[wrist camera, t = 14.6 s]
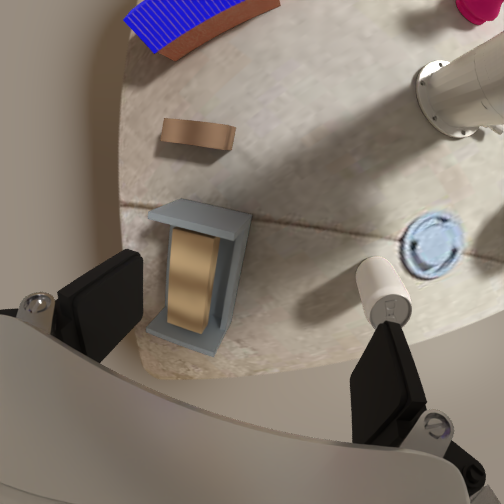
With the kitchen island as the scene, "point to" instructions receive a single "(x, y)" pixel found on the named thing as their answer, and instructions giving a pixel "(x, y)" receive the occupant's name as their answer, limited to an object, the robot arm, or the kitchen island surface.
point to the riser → (198, 133)
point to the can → (382, 292)
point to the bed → (226, 273)
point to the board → (191, 278)
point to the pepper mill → (479, 10)
